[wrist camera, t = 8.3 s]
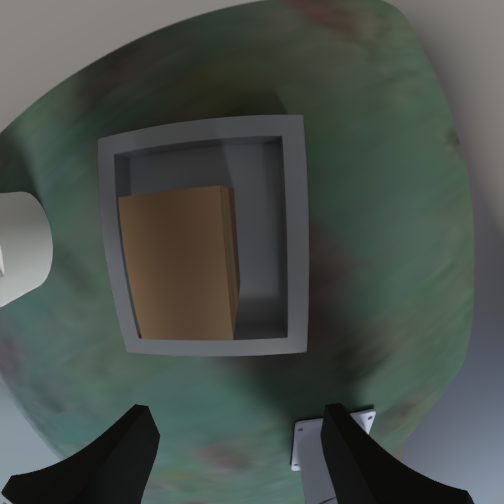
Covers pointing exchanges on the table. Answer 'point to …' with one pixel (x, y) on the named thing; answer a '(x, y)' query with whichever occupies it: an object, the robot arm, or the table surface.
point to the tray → (247, 221)
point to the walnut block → (182, 262)
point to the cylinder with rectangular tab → (22, 245)
